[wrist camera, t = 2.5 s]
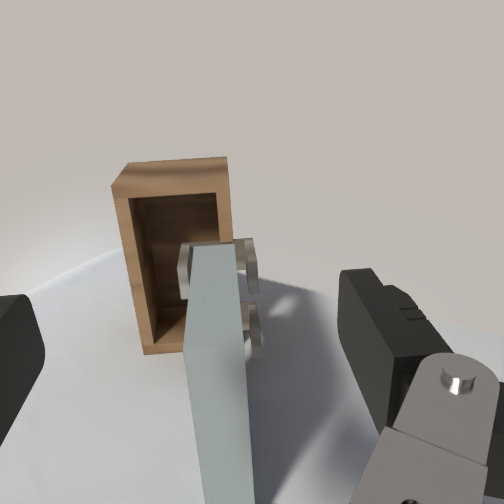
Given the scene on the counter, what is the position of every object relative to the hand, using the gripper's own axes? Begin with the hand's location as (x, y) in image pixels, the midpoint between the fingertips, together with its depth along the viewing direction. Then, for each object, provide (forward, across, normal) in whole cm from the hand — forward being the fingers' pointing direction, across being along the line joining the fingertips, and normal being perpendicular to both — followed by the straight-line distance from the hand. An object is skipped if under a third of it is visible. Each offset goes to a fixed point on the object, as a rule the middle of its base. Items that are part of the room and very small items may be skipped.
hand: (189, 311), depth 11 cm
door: (+14, 0, +22) cm, 26 cm away
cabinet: (+28, +3, +22) cm, 36 cm away
